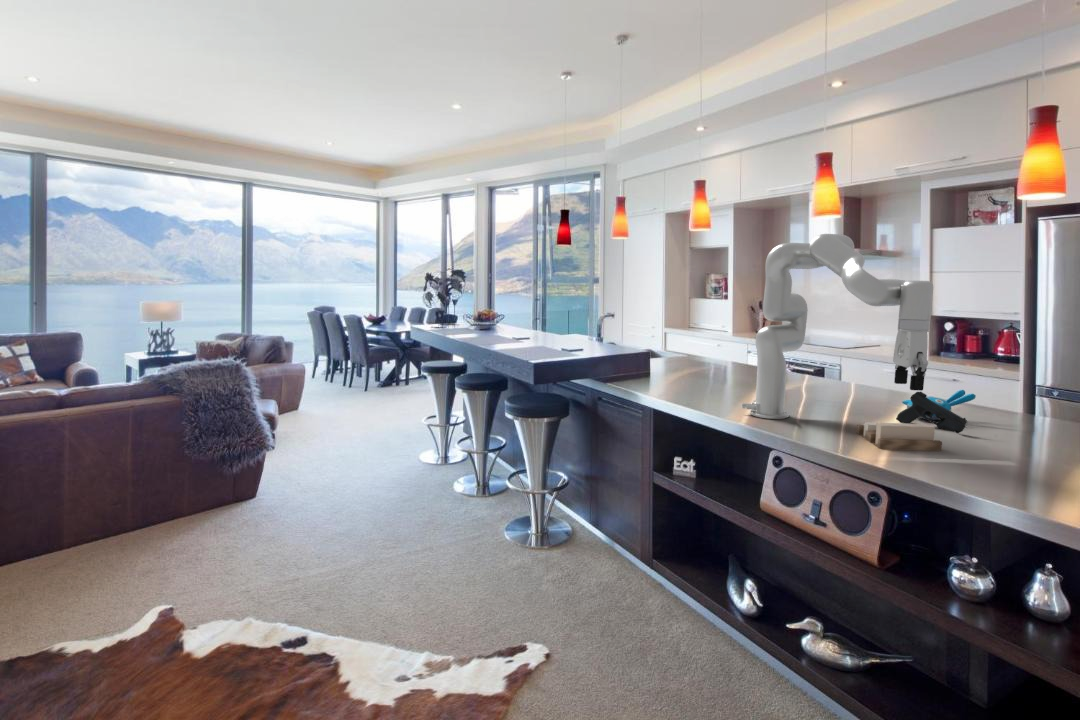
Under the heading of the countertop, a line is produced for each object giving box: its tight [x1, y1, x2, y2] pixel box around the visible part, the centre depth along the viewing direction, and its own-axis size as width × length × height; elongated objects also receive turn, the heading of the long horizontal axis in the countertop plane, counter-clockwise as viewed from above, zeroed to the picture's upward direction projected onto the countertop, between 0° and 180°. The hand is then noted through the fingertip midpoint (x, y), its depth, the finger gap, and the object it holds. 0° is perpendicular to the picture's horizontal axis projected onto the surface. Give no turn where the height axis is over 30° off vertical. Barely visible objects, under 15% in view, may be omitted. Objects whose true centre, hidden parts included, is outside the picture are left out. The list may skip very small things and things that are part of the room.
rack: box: [856, 424, 943, 452], centre depth 178 cm, size 16×17×4 cm
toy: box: [901, 389, 976, 421], centre depth 208 cm, size 20×19×10 cm
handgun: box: [896, 391, 968, 434], centre depth 194 cm, size 2×17×12 cm, turn 41°
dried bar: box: [863, 421, 905, 436], centre depth 182 cm, size 14×3×4 cm, turn 82°
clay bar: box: [875, 422, 936, 444], centre depth 173 cm, size 14×3×6 cm, turn 82°
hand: (908, 386), depth 171 cm, fingers open, 9 cm apart
